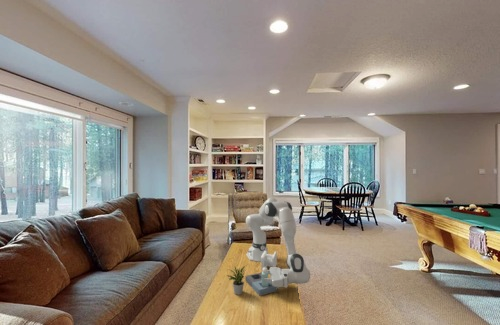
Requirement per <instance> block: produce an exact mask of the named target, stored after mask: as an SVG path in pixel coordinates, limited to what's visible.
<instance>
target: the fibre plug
mask: <svg viewBox="0 0 500 325" xmlns="http://www.w3.org/2000/svg"><path fill="white" fill-rule="evenodd" d="M267 270H268V267H267V268H266V267H264V268H263V270H262V271H261V272H262V287H263V288H264V287H268V282H265V281H264V278H269V274H268V272H267Z"/></svg>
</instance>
